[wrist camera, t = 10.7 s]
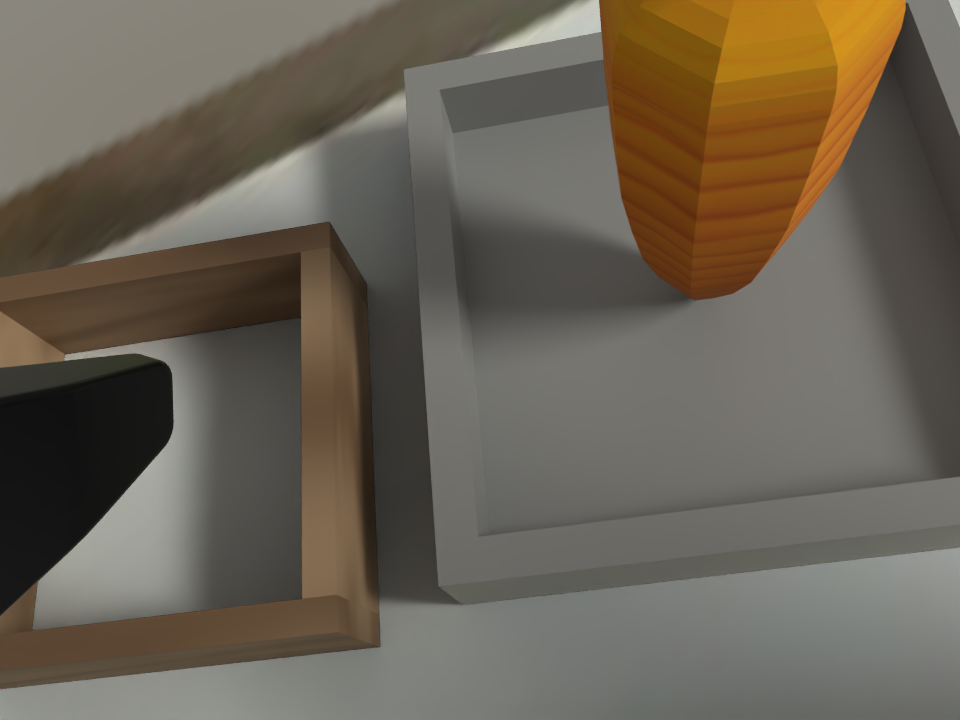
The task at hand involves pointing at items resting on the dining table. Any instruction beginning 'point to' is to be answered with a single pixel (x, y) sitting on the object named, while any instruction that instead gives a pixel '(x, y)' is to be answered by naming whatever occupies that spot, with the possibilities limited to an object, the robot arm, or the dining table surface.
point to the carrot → (734, 122)
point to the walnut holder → (324, 430)
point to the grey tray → (679, 341)
